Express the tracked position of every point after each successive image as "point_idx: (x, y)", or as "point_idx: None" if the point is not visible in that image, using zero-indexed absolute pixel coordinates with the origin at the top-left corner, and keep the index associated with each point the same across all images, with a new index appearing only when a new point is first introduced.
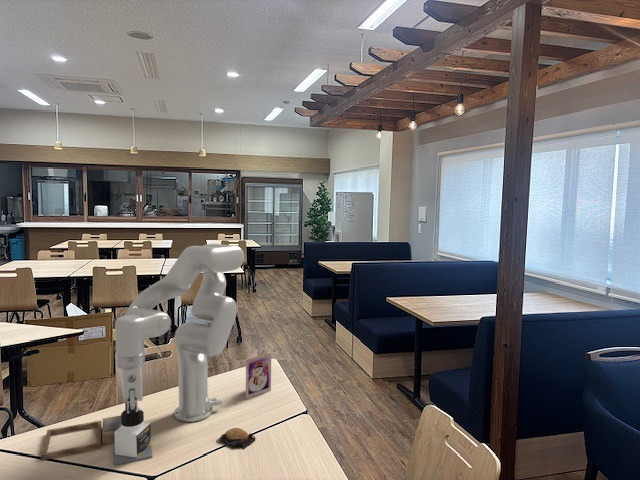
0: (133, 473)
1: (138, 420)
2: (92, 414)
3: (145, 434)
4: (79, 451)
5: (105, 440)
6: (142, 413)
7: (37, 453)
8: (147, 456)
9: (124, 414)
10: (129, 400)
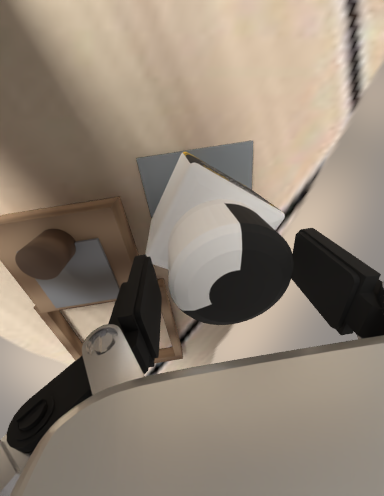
0: (305, 190)
1: (325, 237)
2: None
3: (225, 177)
4: (171, 311)
5: None
6: (263, 227)
7: None
8: (250, 158)
9: (256, 315)
10: (151, 344)
